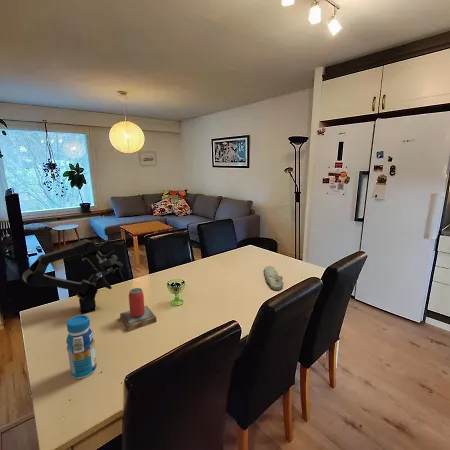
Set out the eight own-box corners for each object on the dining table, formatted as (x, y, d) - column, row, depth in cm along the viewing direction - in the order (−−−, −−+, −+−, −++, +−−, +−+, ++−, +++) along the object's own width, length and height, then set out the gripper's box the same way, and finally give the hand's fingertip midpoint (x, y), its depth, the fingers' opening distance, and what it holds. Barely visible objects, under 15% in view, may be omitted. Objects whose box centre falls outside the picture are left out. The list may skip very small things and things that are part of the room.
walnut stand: (128, 331, 117) (127, 325, 116) (120, 318, 127) (119, 312, 127) (156, 321, 124) (156, 316, 124) (146, 310, 135) (146, 304, 134)
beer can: (136, 309, 130) (135, 286, 127) (147, 312, 127) (146, 289, 124) (127, 316, 124) (125, 292, 121) (138, 319, 121) (136, 295, 119)
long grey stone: (275, 271, 191) (261, 271, 191) (275, 264, 190) (261, 264, 190) (286, 290, 156) (269, 291, 156) (286, 282, 156) (269, 282, 156)
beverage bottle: (64, 375, 92) (57, 323, 88) (85, 359, 100) (79, 311, 96) (83, 382, 89) (76, 329, 85) (102, 365, 97) (97, 316, 93)
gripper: (91, 257, 122) (113, 283, 121) (118, 246, 139) (137, 268, 138) (79, 271, 125) (100, 296, 125) (107, 259, 143) (126, 280, 142)
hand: (117, 284), depth 132 cm, fingers open, 9 cm apart
